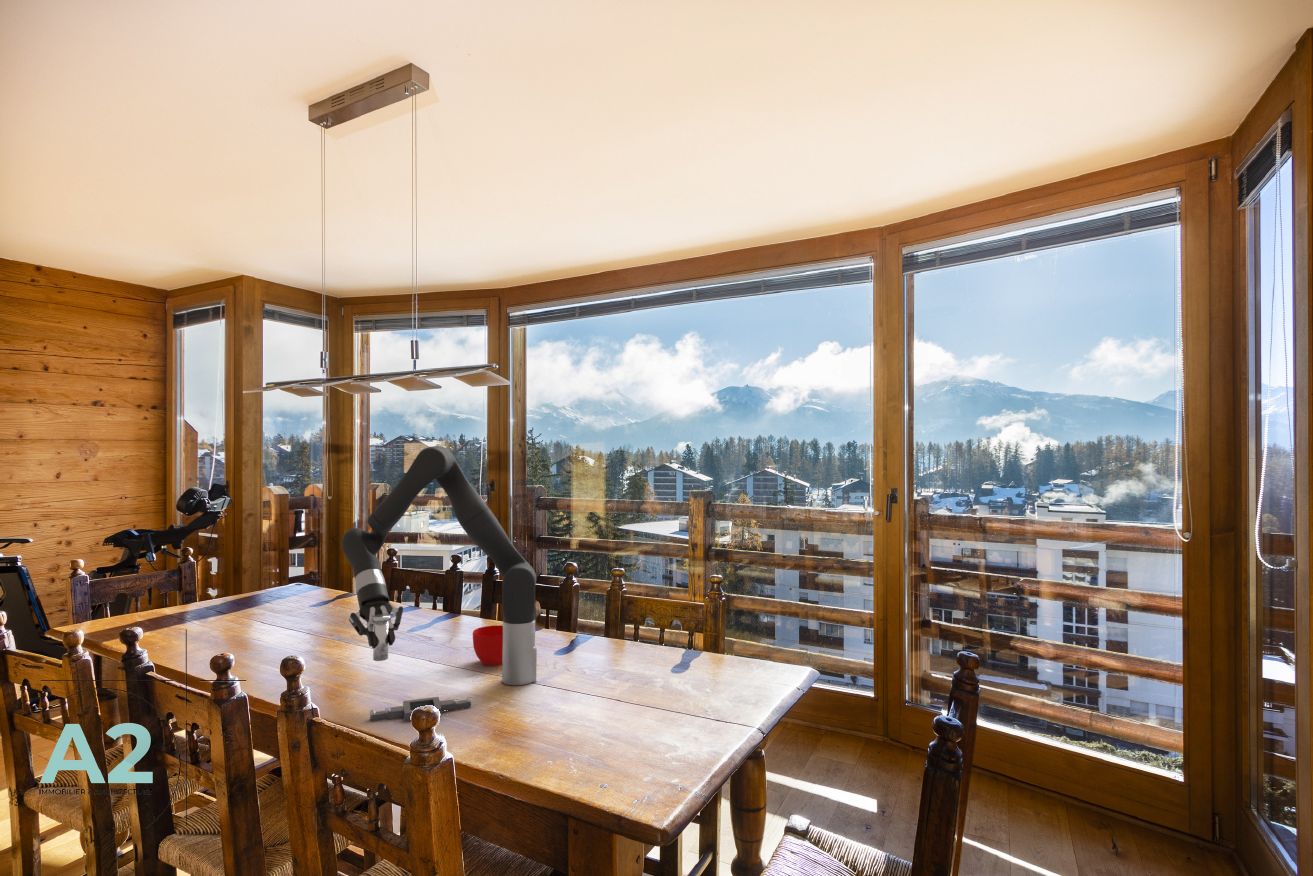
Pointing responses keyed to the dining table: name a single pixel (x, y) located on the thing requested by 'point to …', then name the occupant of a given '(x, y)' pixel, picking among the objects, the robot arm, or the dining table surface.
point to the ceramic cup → (489, 644)
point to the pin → (381, 636)
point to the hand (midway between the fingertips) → (383, 644)
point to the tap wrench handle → (412, 704)
